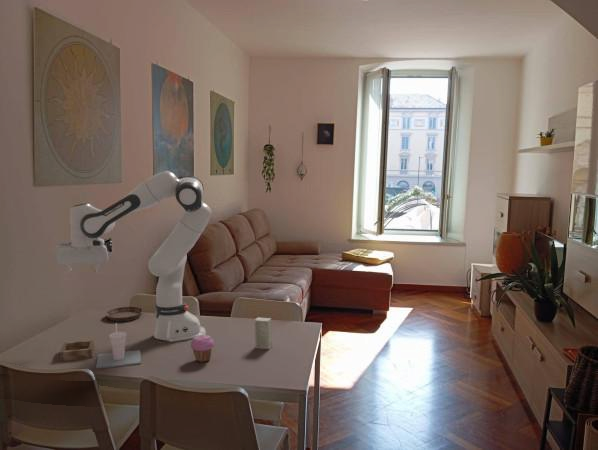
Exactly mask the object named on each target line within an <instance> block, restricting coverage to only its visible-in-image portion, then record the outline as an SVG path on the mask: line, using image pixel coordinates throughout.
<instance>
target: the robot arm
mask: <svg viewBox="0 0 598 450" xmlns="http://www.w3.org/2000/svg"><path fill="white" fill-rule="evenodd" d="M204 187H205V186H204V184H203V182H202V181H201V180H200V179H199V178H198V177H196V176H179V177H177V176H176V174H175V173H173V171H172V172H171V171H170V170H163V171H162V172H159V173H156V174H155V175H152V176H150V177H148V178H146V179H144V180H143V181H142V182H141V183H139V184H137V186H135V187H134V188H133V189H132V190H131V191H130V192H129V193H127V194H126V195H125V196H124V197H123V198H121V199H120V200H118V201H117V202H115V203H113V204H111V205H109V206H108V207H106V208H104V209H99V208H97V207H95V206H93V205H92V204H90V203H87V202H86V203H79V204H74V205H73V206H71V208H70V212H69V225H70V229H71V230H70V231H71V232H70V241H67V242H66V241H65V242H59V243H57V244H56V246H55V252H56V253H57V255H56V263H57V265H59V266H61V265H62V266H64V265H66V268H67V270H68V271H69V275H70V276H71V275H75V270H74V269H72V268H71V265H76V264H77V265H81V264H82V265H83V264H95V265H96V267H95V268H93V274H98V269H99V268H100V266H101V263H107V262H109V253H108V248H107V246H106V245H105V240H104V239H103V238H99V237H101V236H103V235H105V234H108V233H110V232H111V231H113V230H114V229H115V227H116V225H117V221H119V220H120V219H121V218H124V216H127V215H129V214H133V213H135V212H140V211H143V210H146V209H149V208H152V207H155V206H157V205H158V204H160V203H162V202H164V201H165V200H166V199H168V198H170V197H175V199H176V202H177V203H178V204H179V205H180V206H181V207H182V208H183V209H184V213H183V214H182V216H181V217H180V219H179V220H178V222H177V223H176V225H175V226H174V228H173V229H172V231H171V233H170V234H169V235H168V236H167V237H166V238H165V240H164V241H163V242H162V244H161V245H160V246H159V247H158V249H157V250H156V251H155V253H154V254H152V255H151V257H149V258H150V259H149V260H148V264H147V265H148V270H149V272H150V273H151V274H152V275H153V276H155V277H158V282H157V283H156V287H155V290H156V291H155V292H156V293H155V294H156V304H155V318H156V321H155V322H156V323H155V328H154V333H153V337H154V339H157V340H162V341H166V342H170V343H173V342H179V341H185V340H193V338H195V337H196V336H198V335H207V333H206V329H205V327H204V326H201V323H200V319H199V318H198V317H197V316H196V315H194V314H193V313H191V312H189V310H190V308H189V306H188V304H186V303H185V302H183V280H184V275H185V268H186V267H185V266H186V263H187V259H188V256H187V254H188V253H189V252H190V251H191V250H192V249H193V248H194V246H195V244H196V243H197V241H198V240H199V239H200V237H201V235H202V234H203V232H204V231H205V230H206V227H207V226H208V223H209V221H210V219H211V216H212V210H211V207H209V205H208V204H207V203H205V202H204V201H203V197H204V196H203V195H204Z"/></svg>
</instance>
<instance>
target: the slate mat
mask: <svg viewBox="0 0 598 450" xmlns="http://www.w3.org/2000/svg"><path fill="white" fill-rule="evenodd" d="M141 355H142V354H141V350H140V349H136V350H127V351H126V350H125V351H124V358H123V359H121V360H114V356H113V352H108V353H98V354H97V359H96V365H95V366H96V367H95V369H105V368H106V369H107V368H108V369H109V368H116V367H125V366H133V365H136V366H137V365H142V364H141V363H142V360H141V358H142V357H141Z"/></svg>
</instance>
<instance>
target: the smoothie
mask: <svg viewBox="0 0 598 450" xmlns="http://www.w3.org/2000/svg"><path fill="white" fill-rule="evenodd" d="M126 337H127V332H125V331H118V322H115V332H111V333H110V334H109V337H108V338H109V339H110V343H111V344H110V345H111V349H112V353H113V356H114V360H121V359H123V358H124V352H125V351H126V350H125V349H126V339H127V338H126Z"/></svg>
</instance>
